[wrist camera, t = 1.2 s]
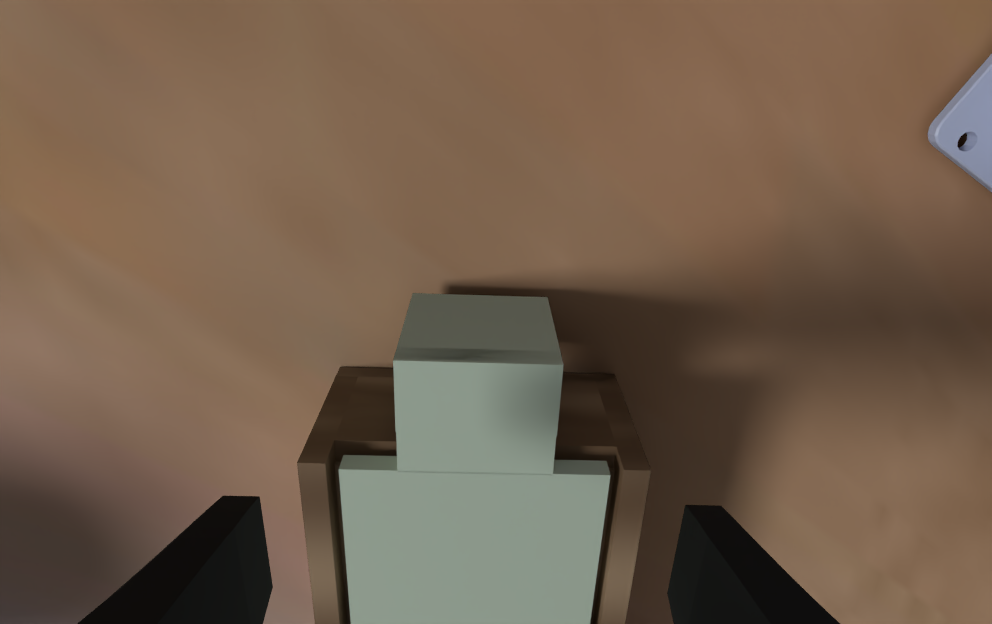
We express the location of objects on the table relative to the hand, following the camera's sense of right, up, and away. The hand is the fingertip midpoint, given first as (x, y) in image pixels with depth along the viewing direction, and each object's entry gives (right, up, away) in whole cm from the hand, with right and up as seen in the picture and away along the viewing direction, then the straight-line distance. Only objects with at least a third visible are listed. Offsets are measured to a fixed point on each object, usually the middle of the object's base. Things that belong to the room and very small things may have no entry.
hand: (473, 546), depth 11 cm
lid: (0, -3, +11) cm, 11 cm away
